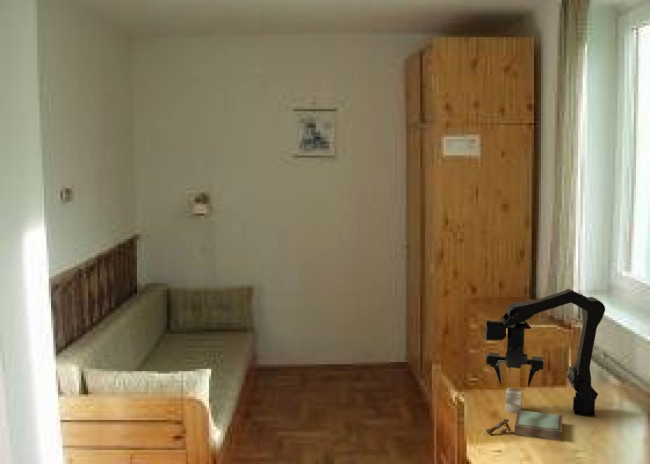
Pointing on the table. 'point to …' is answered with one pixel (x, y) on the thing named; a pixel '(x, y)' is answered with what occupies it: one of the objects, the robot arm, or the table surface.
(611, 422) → the table surface
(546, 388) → the table surface
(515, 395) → the maple block
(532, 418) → the brown and green tray
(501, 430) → the grey brown jointed piece
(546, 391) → the table surface
